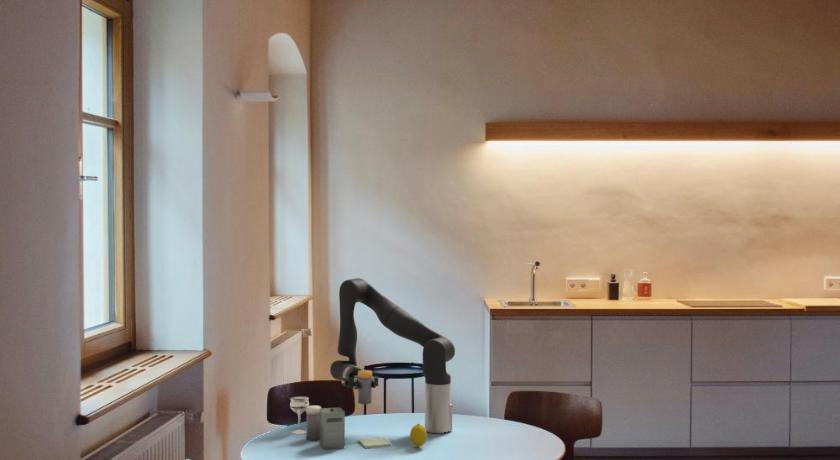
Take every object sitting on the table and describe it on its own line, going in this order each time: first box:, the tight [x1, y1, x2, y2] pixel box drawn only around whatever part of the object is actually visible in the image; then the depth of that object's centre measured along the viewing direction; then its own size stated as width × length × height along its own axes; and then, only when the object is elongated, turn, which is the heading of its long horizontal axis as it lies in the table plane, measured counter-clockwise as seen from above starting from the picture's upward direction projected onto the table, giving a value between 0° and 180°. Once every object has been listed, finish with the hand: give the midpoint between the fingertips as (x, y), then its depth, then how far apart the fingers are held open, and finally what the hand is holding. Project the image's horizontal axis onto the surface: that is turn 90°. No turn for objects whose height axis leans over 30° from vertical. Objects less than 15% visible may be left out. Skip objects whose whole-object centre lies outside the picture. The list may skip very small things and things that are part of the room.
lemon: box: [409, 423, 428, 449], centre depth 259 cm, size 6×6×8 cm
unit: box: [318, 407, 346, 451], centre depth 260 cm, size 7×8×13 cm
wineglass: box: [289, 396, 310, 435], centre depth 278 cm, size 7×7×12 cm
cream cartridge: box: [305, 405, 322, 442], centre depth 269 cm, size 5×5×11 cm
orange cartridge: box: [357, 369, 373, 405], centre depth 276 cm, size 5×5×11 cm
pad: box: [358, 436, 392, 449], centre depth 263 cm, size 9×9×1 cm
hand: (367, 385), depth 273 cm, fingers closed on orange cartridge, 4 cm apart
